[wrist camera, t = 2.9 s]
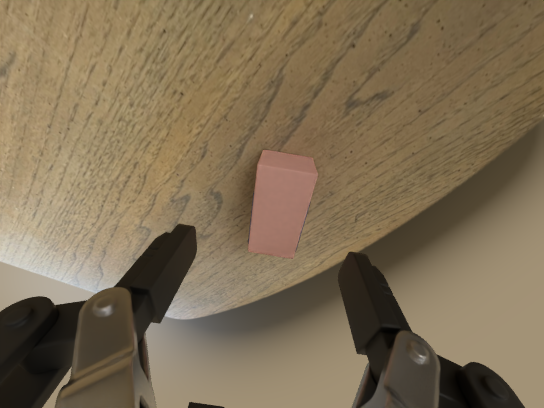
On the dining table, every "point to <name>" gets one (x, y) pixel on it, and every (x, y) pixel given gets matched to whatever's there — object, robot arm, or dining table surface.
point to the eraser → (280, 202)
